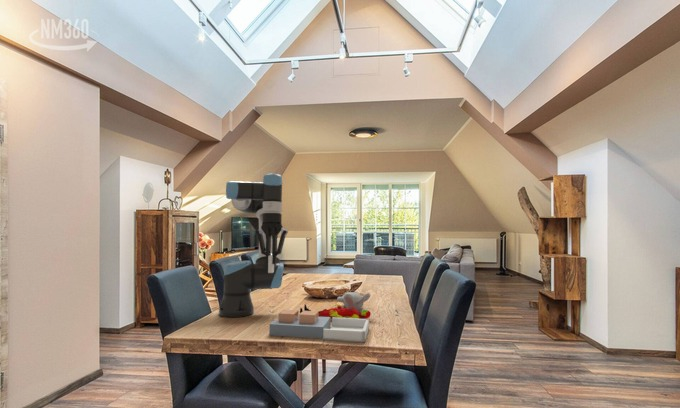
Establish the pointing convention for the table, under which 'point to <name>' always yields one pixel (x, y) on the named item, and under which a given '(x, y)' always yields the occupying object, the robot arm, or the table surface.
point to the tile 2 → (308, 316)
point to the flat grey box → (300, 328)
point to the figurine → (341, 312)
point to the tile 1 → (288, 316)
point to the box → (347, 330)
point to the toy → (353, 300)
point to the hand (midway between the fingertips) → (271, 272)
